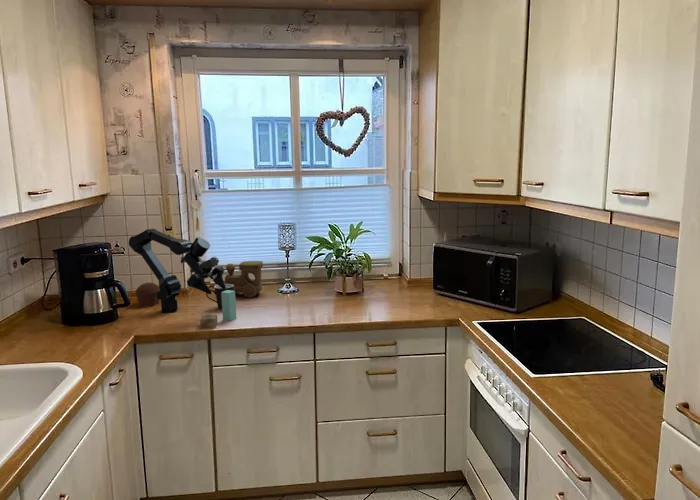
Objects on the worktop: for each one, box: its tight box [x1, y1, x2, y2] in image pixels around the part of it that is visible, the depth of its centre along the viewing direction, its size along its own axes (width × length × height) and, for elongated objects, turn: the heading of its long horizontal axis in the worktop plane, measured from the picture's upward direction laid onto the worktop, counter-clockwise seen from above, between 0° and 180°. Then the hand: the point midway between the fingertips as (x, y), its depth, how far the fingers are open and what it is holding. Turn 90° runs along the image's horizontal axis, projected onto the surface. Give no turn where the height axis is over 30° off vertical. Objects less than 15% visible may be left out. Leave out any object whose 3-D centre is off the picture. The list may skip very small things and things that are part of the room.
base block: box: [199, 313, 218, 329], centre depth 216 cm, size 6×6×4 cm
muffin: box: [134, 282, 160, 307], centre depth 249 cm, size 12×11×10 cm
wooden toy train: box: [224, 260, 264, 299], centre depth 263 cm, size 20×11×17 cm, turn 87°
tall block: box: [221, 290, 237, 322], centre depth 224 cm, size 4×4×12 cm
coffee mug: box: [205, 283, 234, 310], centre depth 242 cm, size 12×9×10 cm
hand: (218, 291), depth 225 cm, fingers open, 9 cm apart
